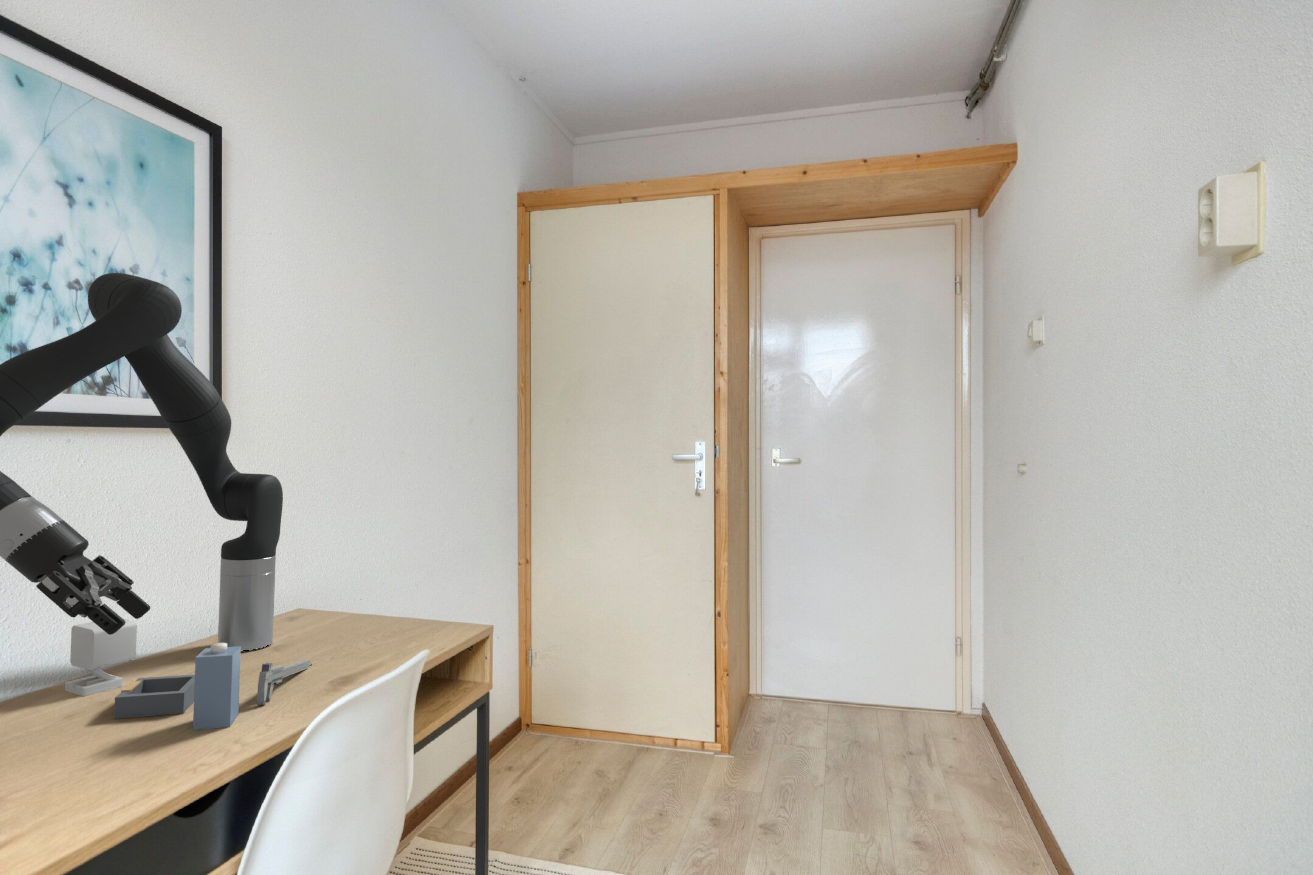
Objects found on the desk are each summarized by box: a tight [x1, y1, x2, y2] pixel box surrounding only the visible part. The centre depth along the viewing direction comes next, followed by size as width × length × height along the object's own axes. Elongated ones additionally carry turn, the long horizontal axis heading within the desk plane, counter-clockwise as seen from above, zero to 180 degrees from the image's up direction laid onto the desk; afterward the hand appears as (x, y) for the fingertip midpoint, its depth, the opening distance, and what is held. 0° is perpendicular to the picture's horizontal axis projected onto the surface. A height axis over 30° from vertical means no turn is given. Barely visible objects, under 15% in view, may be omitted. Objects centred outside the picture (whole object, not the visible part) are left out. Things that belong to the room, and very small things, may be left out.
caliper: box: [256, 659, 313, 706], centre depth 116 cm, size 20×1×6 cm, turn 7°
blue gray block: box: [192, 642, 242, 731], centre depth 100 cm, size 4×4×11 cm
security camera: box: [64, 618, 138, 697], centre depth 112 cm, size 6×7×10 cm
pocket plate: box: [113, 674, 195, 720], centre depth 105 cm, size 9×8×3 cm
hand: (132, 621), depth 96 cm, fingers open, 8 cm apart
